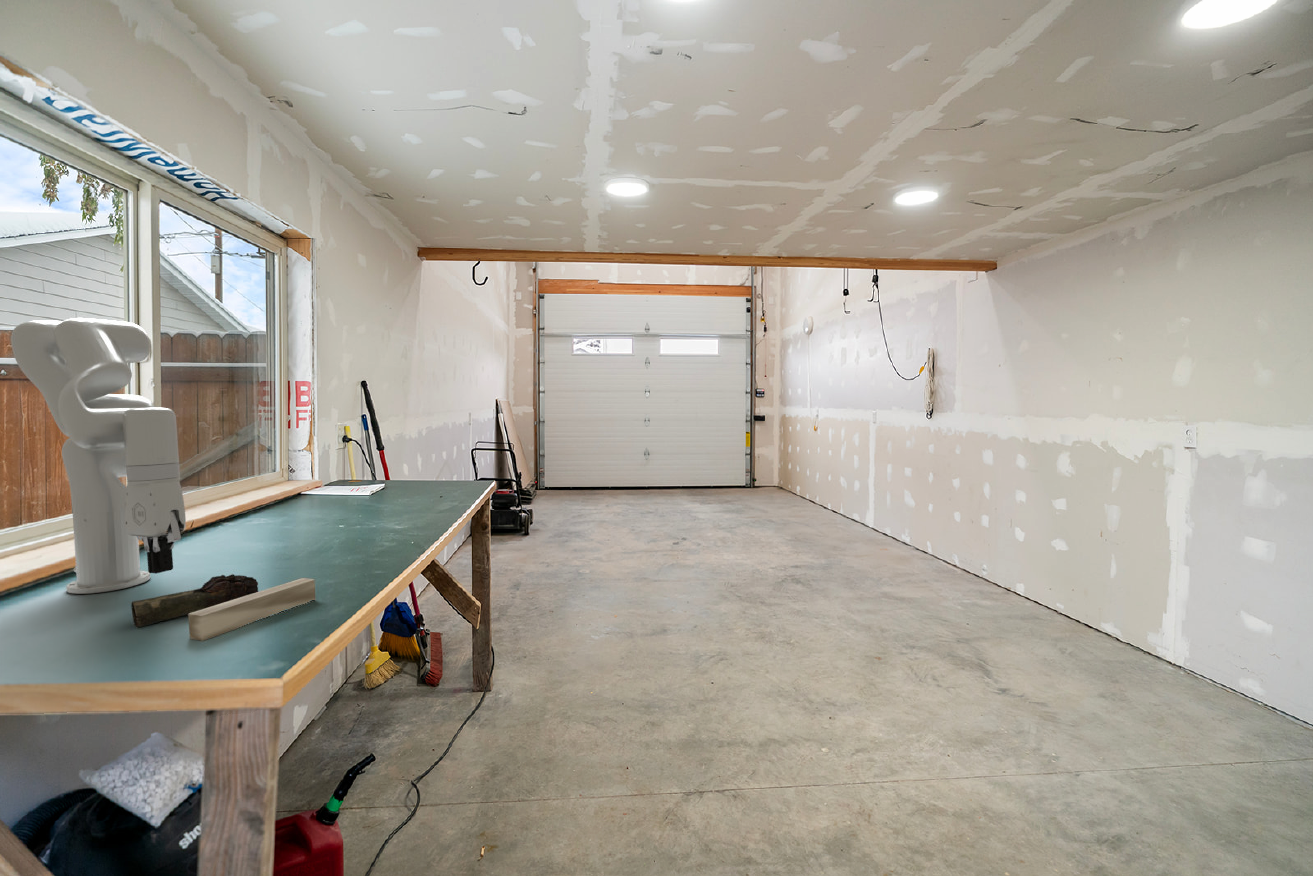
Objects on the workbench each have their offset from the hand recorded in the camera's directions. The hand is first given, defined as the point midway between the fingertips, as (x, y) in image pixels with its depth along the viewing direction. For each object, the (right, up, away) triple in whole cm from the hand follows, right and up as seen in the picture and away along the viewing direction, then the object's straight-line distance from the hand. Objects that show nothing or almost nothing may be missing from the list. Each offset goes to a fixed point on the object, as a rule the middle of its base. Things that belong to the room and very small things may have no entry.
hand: (161, 571), depth 109 cm
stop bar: (+24, -6, -8) cm, 26 cm away
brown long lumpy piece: (+11, -7, -4) cm, 13 cm away
